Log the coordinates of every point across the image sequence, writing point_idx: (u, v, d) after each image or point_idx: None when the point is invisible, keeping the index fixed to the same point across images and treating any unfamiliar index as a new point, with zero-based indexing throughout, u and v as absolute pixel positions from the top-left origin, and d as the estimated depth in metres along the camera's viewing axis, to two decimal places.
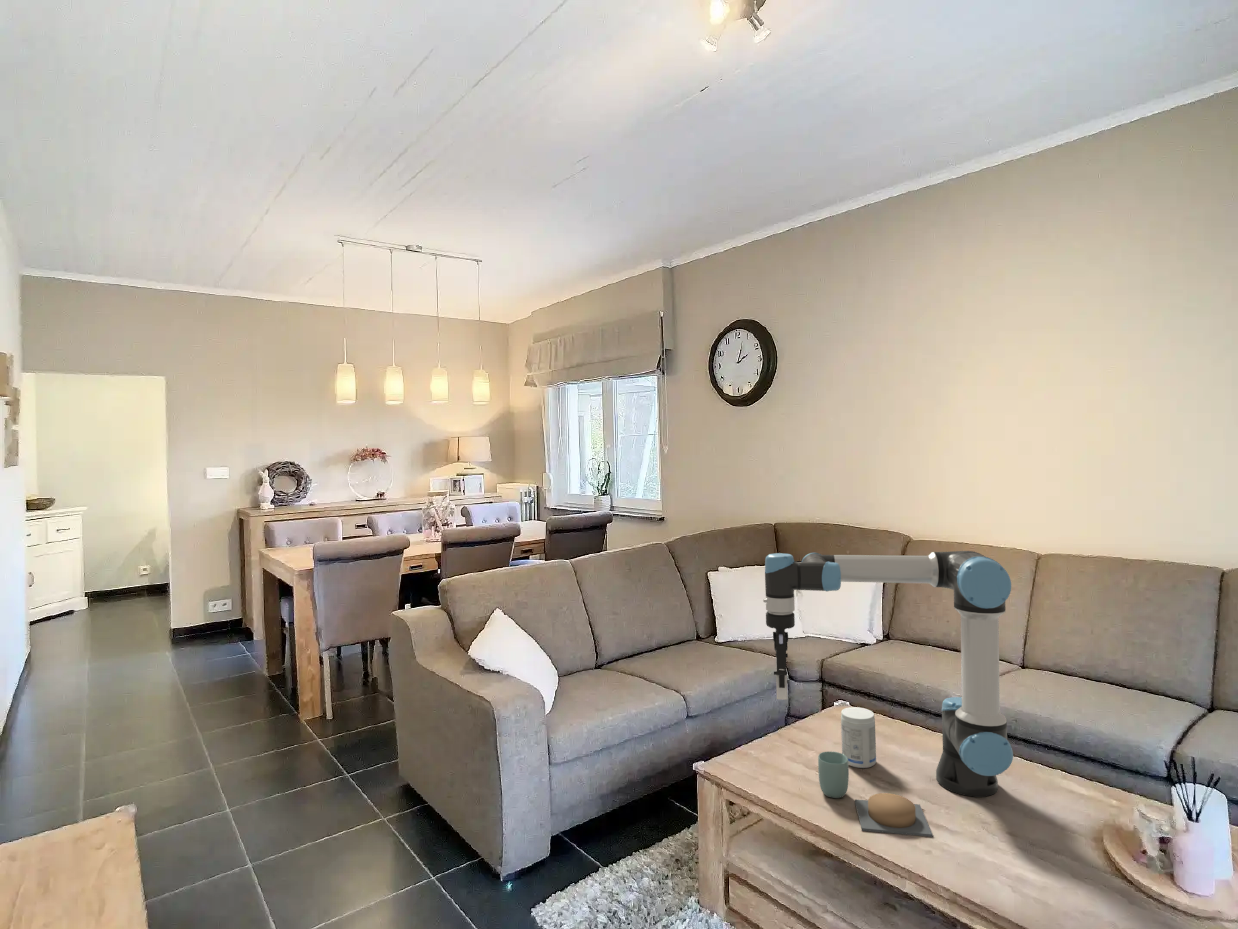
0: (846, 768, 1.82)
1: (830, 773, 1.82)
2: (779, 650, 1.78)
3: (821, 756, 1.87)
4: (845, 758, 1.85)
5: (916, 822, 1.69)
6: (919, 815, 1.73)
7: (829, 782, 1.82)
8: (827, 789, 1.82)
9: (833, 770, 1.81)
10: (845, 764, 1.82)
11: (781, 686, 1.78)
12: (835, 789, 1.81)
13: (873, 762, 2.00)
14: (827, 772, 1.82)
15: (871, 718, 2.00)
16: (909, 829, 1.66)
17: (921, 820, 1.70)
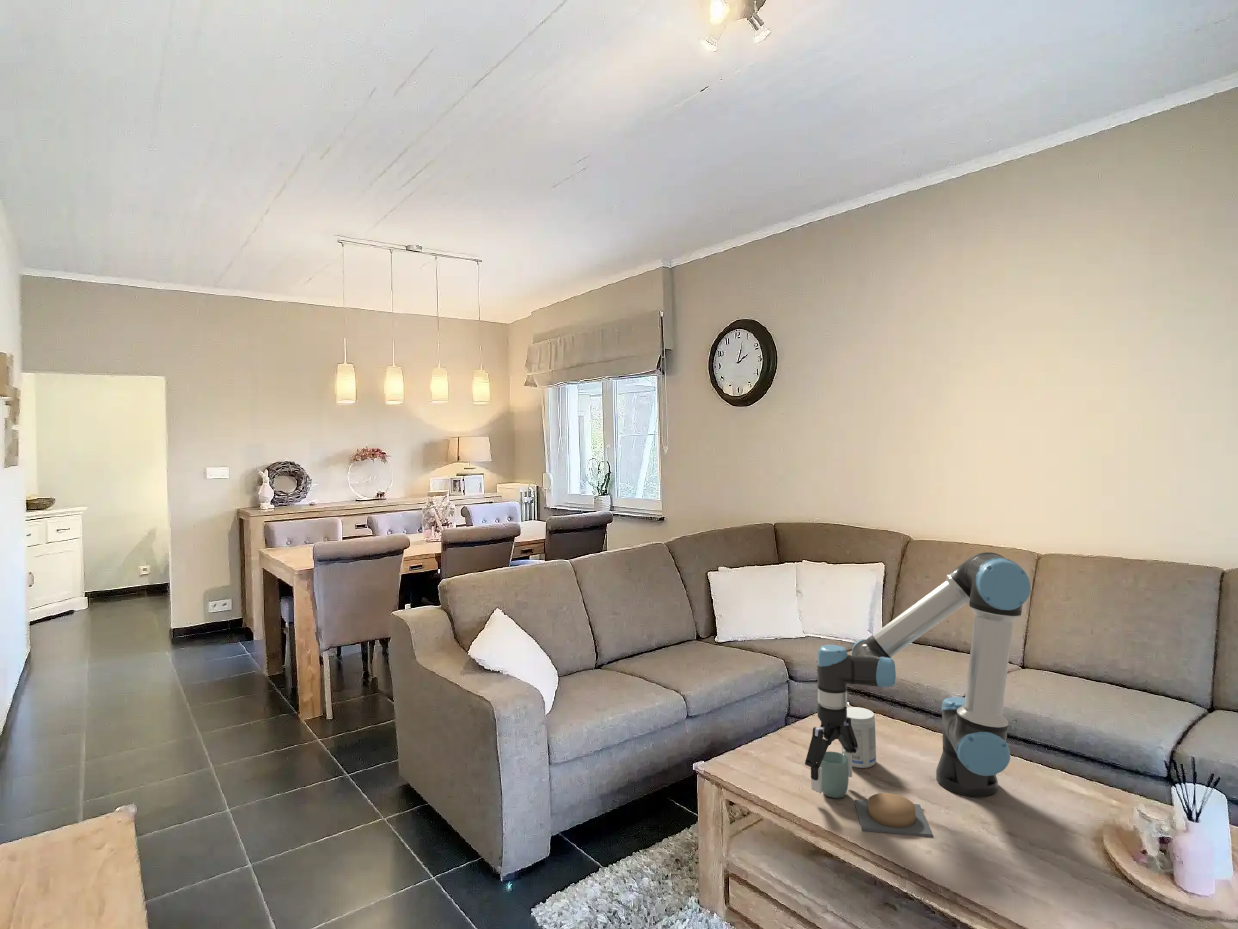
0: (846, 768, 1.82)
1: (830, 773, 1.82)
2: (813, 742, 1.80)
3: None
4: (845, 758, 1.85)
5: (916, 822, 1.69)
6: (919, 815, 1.73)
7: (829, 782, 1.82)
8: (827, 789, 1.82)
9: (833, 770, 1.81)
10: (845, 764, 1.82)
11: (812, 778, 1.80)
12: (835, 789, 1.81)
13: (873, 762, 2.00)
14: (827, 772, 1.82)
15: (871, 719, 2.00)
16: (909, 829, 1.66)
17: (921, 820, 1.70)
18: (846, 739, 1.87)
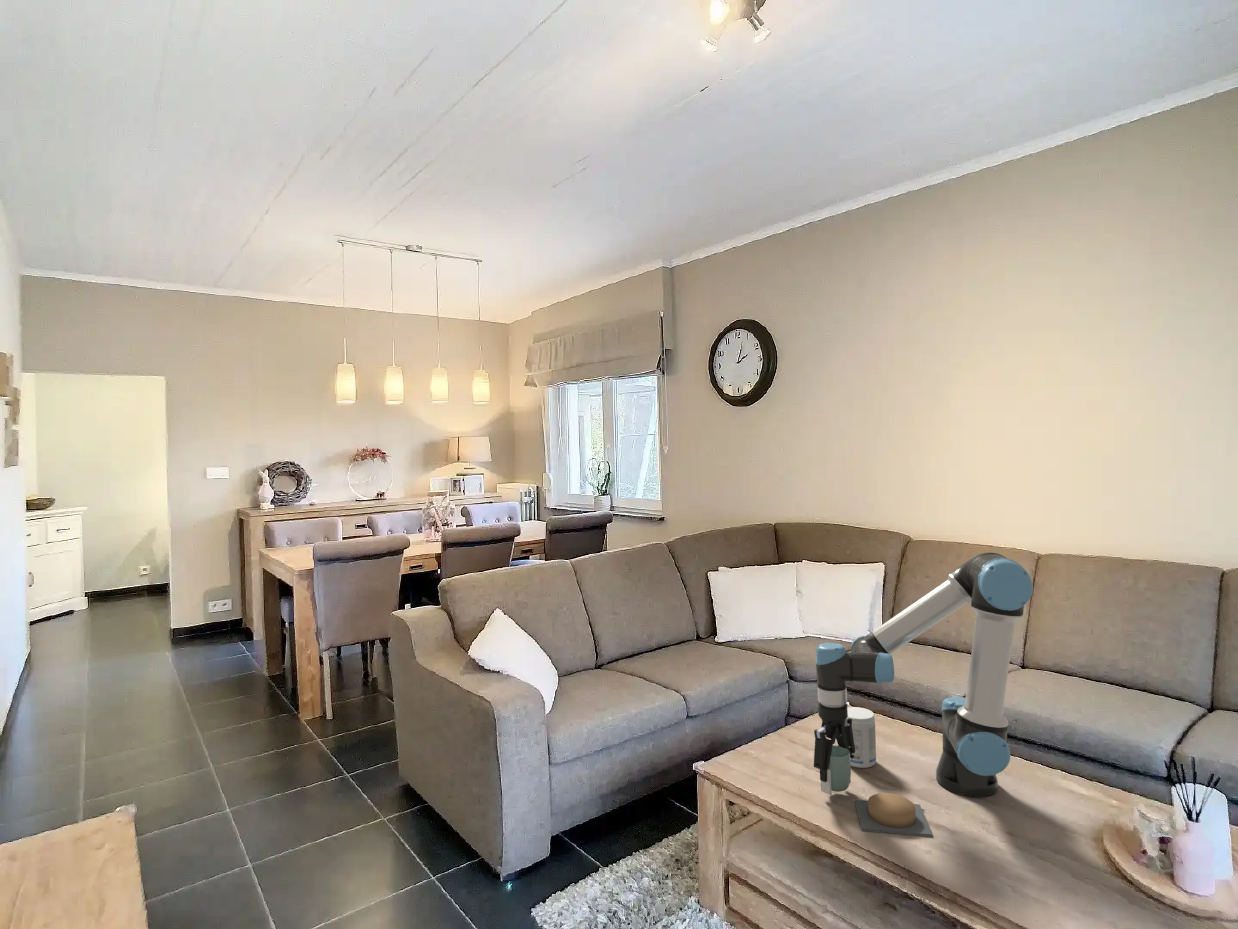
0: (848, 761, 1.82)
1: (832, 767, 1.81)
2: (817, 745, 1.81)
3: None
4: (847, 751, 1.85)
5: (916, 822, 1.69)
6: (919, 815, 1.73)
7: (832, 775, 1.81)
8: None
9: (835, 763, 1.81)
10: (847, 757, 1.82)
11: (822, 779, 1.81)
12: (838, 782, 1.81)
13: (873, 762, 2.00)
14: (829, 765, 1.82)
15: (871, 719, 2.00)
16: (909, 829, 1.66)
17: (921, 820, 1.70)
18: (846, 741, 1.86)
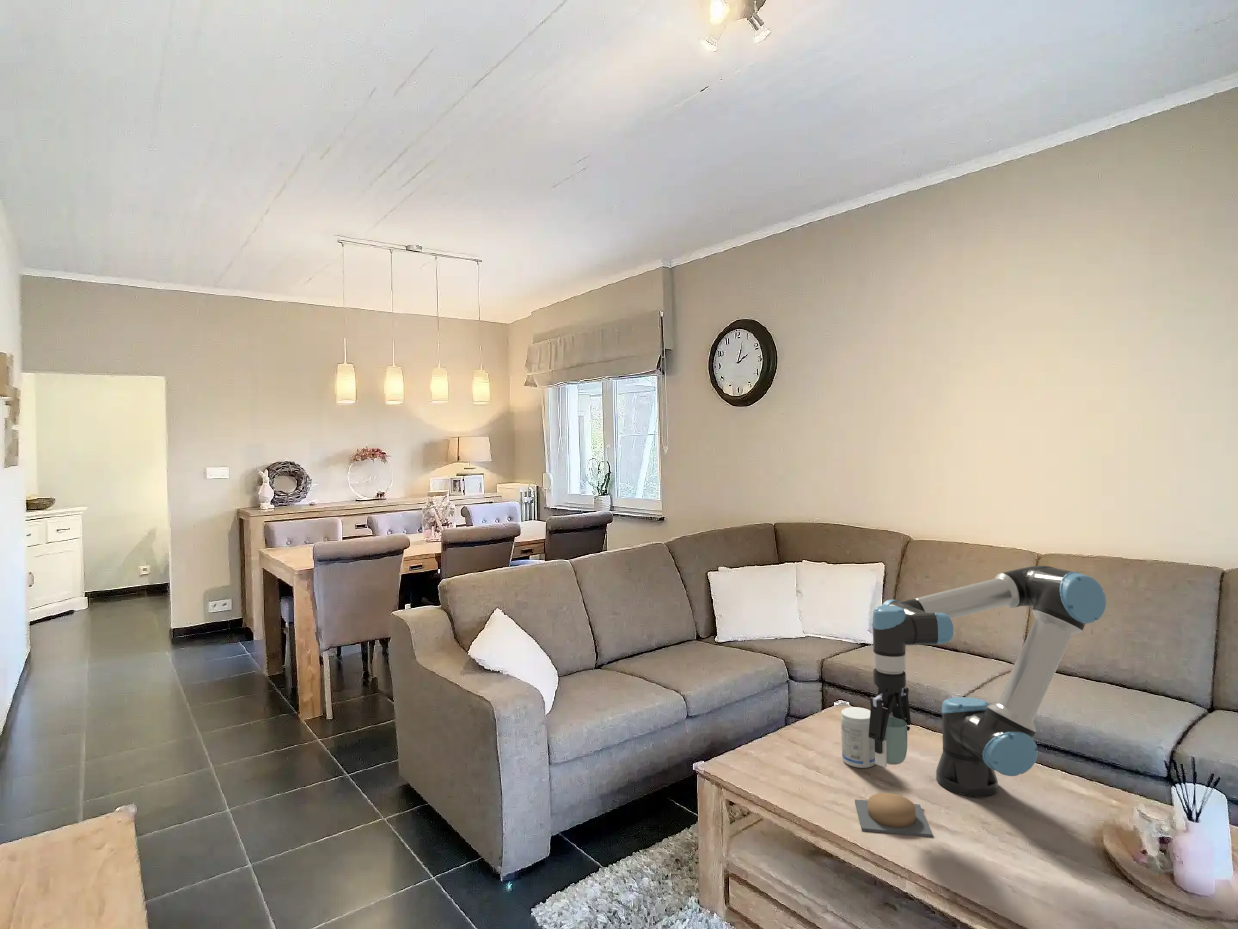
0: (905, 732, 1.69)
1: (888, 738, 1.69)
2: (873, 713, 1.68)
3: None
4: (903, 722, 1.72)
5: (916, 822, 1.69)
6: (919, 815, 1.73)
7: (887, 747, 1.69)
8: None
9: (892, 734, 1.68)
10: (904, 728, 1.69)
11: (876, 751, 1.69)
12: (894, 754, 1.68)
13: (873, 762, 2.00)
14: (885, 736, 1.69)
15: None
16: (909, 829, 1.66)
17: (921, 820, 1.70)
18: (902, 711, 1.73)
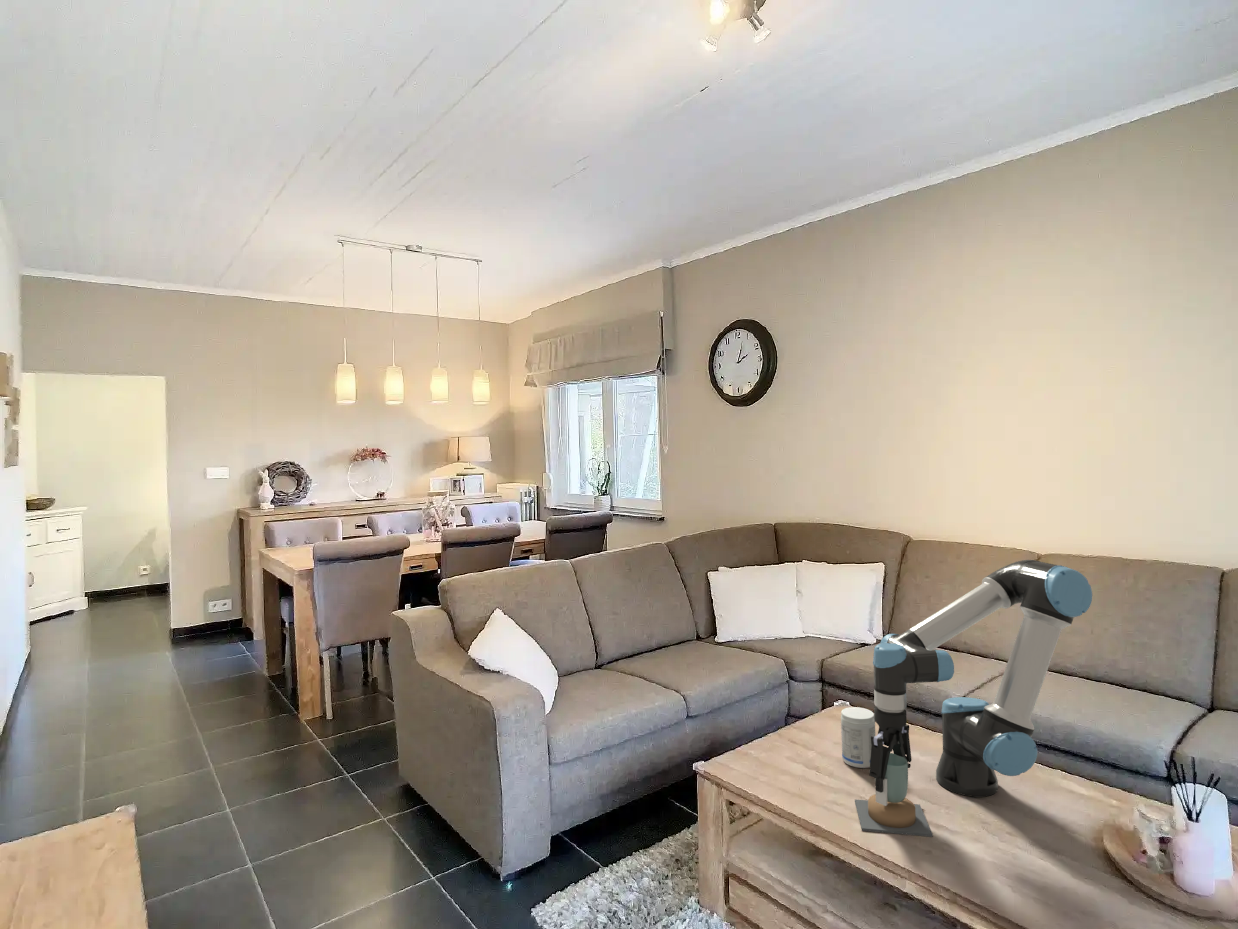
0: (906, 771, 1.69)
1: (889, 776, 1.69)
2: (873, 752, 1.68)
3: None
4: (904, 760, 1.72)
5: (916, 822, 1.69)
6: (919, 815, 1.73)
7: (888, 785, 1.69)
8: None
9: (893, 773, 1.69)
10: (905, 766, 1.69)
11: (877, 790, 1.69)
12: (894, 793, 1.69)
13: None
14: None
15: (871, 718, 2.00)
16: (909, 829, 1.66)
17: (921, 820, 1.70)
18: (903, 749, 1.74)
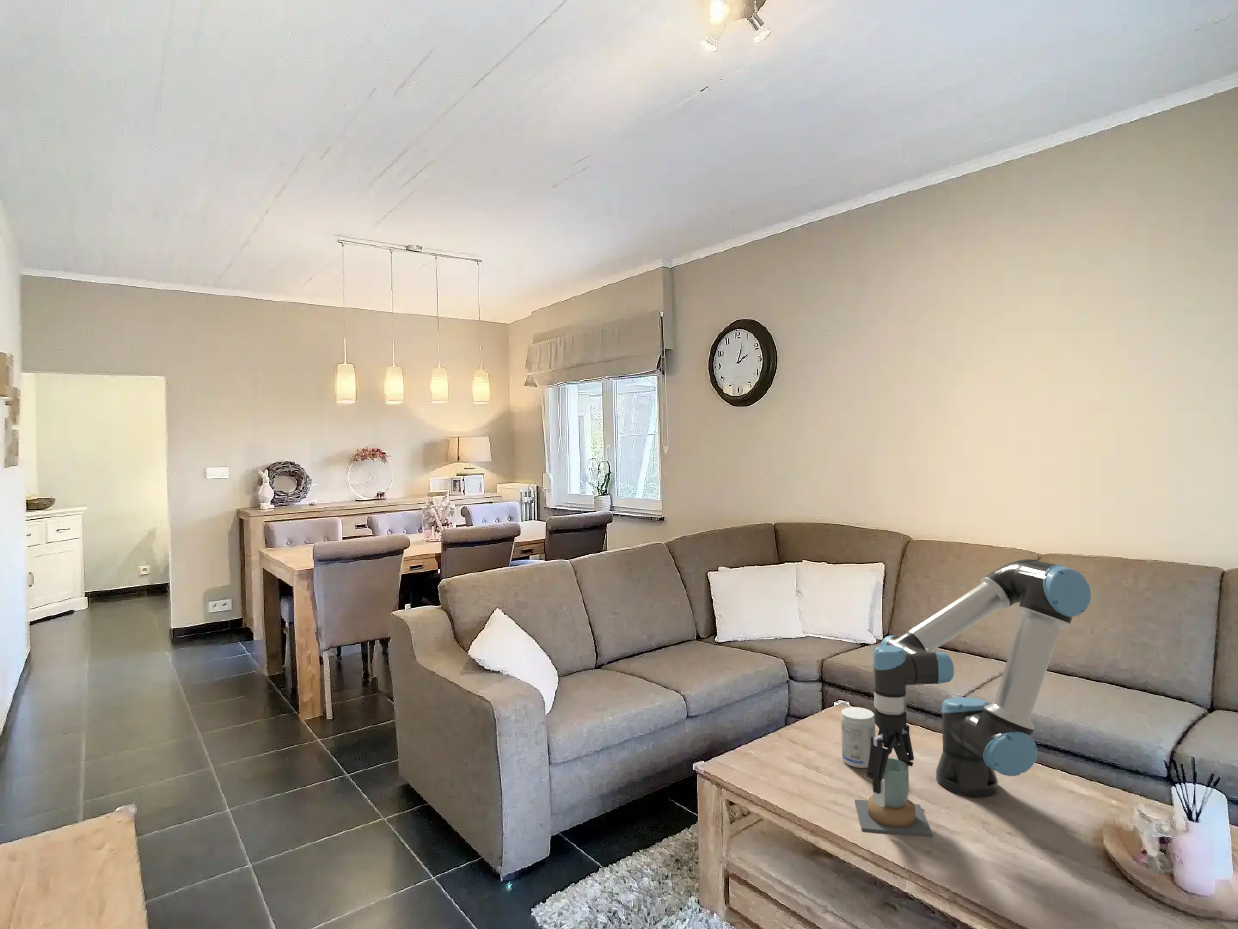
0: (906, 776, 1.69)
1: (889, 782, 1.69)
2: (872, 753, 1.68)
3: None
4: (904, 765, 1.72)
5: (916, 822, 1.69)
6: (919, 815, 1.73)
7: (889, 791, 1.69)
8: (885, 799, 1.70)
9: (893, 778, 1.69)
10: (906, 772, 1.69)
11: (875, 791, 1.68)
12: (895, 798, 1.69)
13: None
14: (886, 780, 1.69)
15: (871, 718, 2.00)
16: (909, 829, 1.66)
17: (921, 820, 1.70)
18: (904, 749, 1.74)
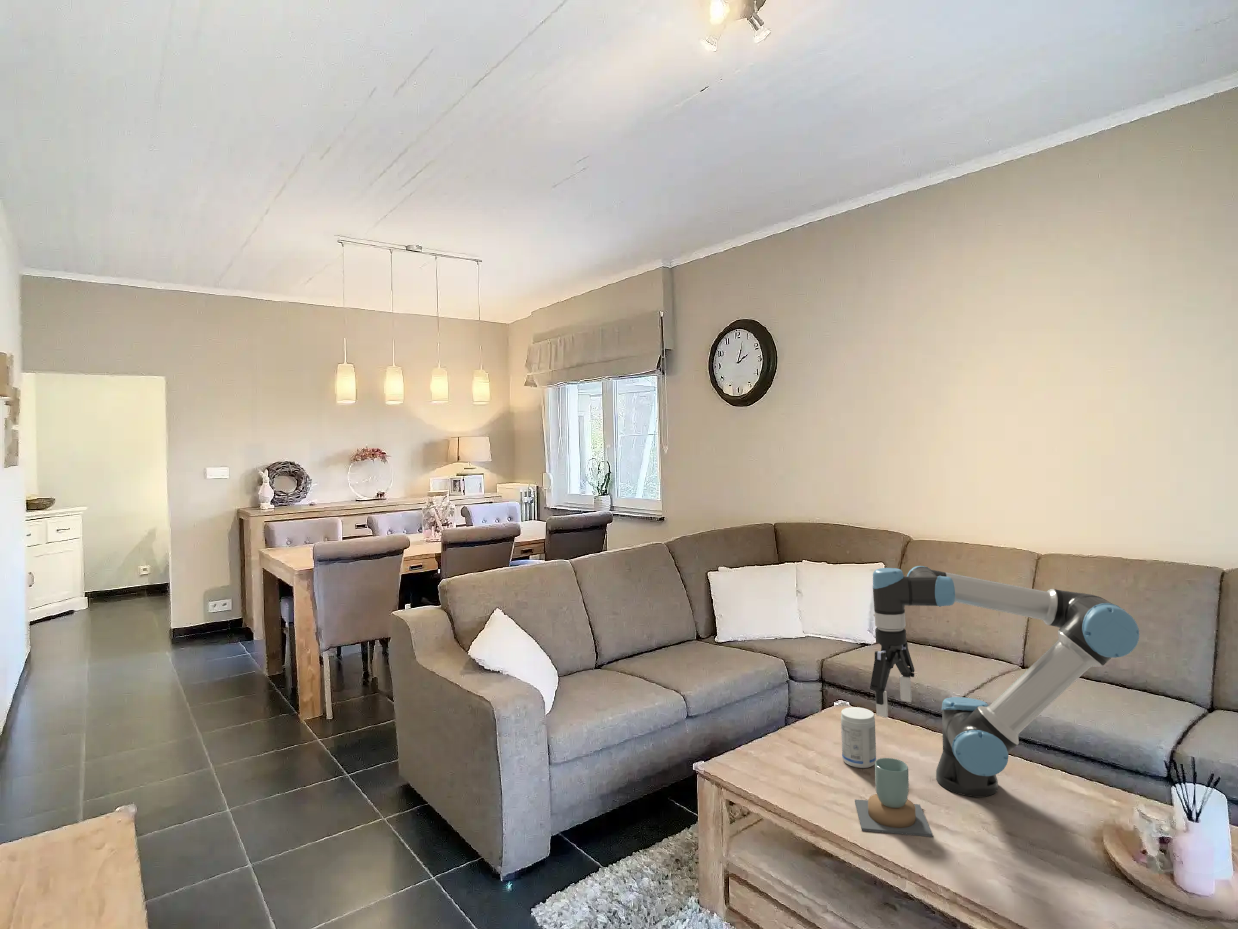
0: (906, 776, 1.69)
1: (889, 782, 1.69)
2: (876, 666, 1.76)
3: (878, 763, 1.74)
4: (904, 765, 1.72)
5: (916, 822, 1.69)
6: (919, 815, 1.73)
7: (888, 791, 1.69)
8: (885, 799, 1.70)
9: (893, 778, 1.69)
10: (906, 772, 1.69)
11: (878, 702, 1.76)
12: (895, 798, 1.69)
13: (873, 762, 2.00)
14: (886, 780, 1.69)
15: (871, 718, 2.00)
16: (909, 829, 1.66)
17: (921, 820, 1.70)
18: (905, 663, 1.84)
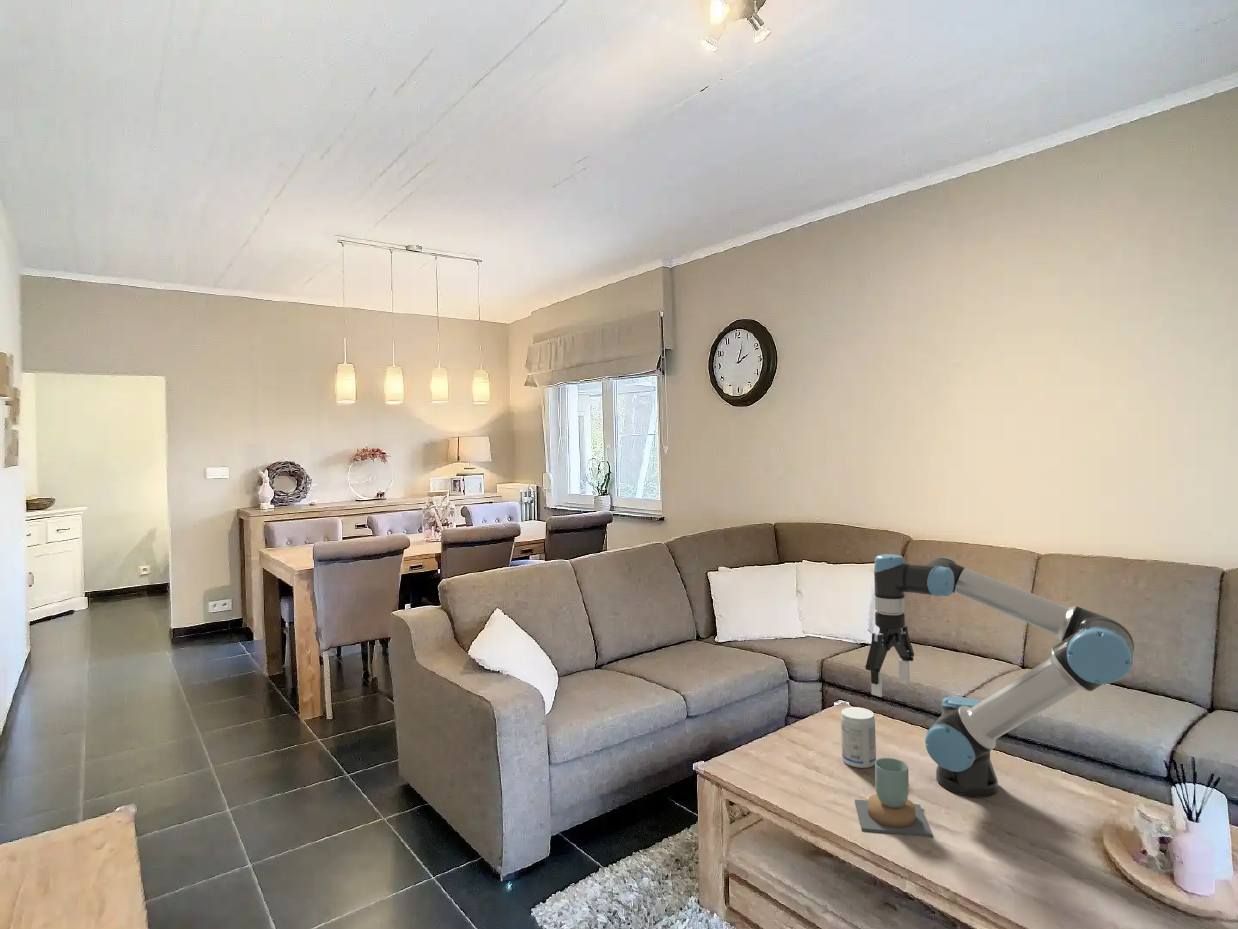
0: (906, 776, 1.69)
1: (889, 782, 1.69)
2: (872, 647, 1.83)
3: (878, 763, 1.74)
4: (904, 765, 1.72)
5: (916, 822, 1.69)
6: (919, 815, 1.73)
7: (888, 791, 1.69)
8: (885, 799, 1.70)
9: (893, 778, 1.69)
10: (906, 772, 1.69)
11: (873, 682, 1.83)
12: (895, 798, 1.69)
13: (873, 762, 2.00)
14: (886, 780, 1.69)
15: (871, 719, 2.00)
16: (909, 829, 1.66)
17: (921, 820, 1.70)
18: (904, 647, 1.90)
